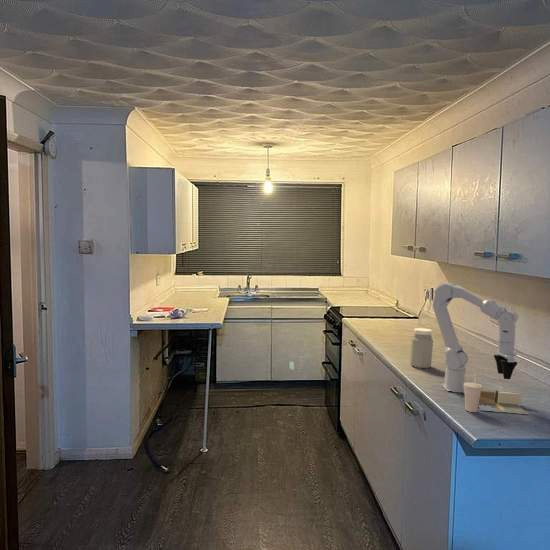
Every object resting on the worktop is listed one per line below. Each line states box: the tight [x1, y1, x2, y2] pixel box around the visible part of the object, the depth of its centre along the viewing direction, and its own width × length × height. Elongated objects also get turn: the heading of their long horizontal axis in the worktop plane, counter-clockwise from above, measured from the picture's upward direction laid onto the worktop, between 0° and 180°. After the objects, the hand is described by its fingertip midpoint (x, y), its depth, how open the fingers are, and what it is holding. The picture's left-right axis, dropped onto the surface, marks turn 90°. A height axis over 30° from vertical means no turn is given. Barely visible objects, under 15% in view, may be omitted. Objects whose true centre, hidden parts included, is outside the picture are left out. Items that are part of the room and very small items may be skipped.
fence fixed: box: [479, 390, 499, 403], centre depth 189 cm, size 1×10×5 cm, turn 83°
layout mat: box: [477, 399, 528, 415], centre depth 187 cm, size 16×16×1 cm
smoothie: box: [464, 372, 483, 413], centre depth 179 cm, size 6×6×14 cm
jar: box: [409, 327, 434, 369], centre depth 238 cm, size 10×10×18 cm
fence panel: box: [498, 391, 522, 406], centre depth 188 cm, size 8×1×4 cm, turn 83°
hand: (503, 376), depth 192 cm, fingers open, 7 cm apart
